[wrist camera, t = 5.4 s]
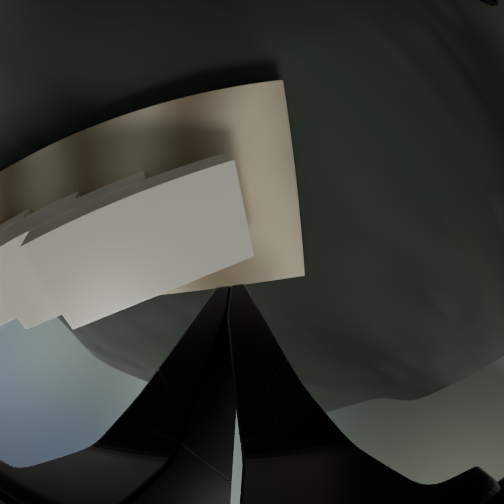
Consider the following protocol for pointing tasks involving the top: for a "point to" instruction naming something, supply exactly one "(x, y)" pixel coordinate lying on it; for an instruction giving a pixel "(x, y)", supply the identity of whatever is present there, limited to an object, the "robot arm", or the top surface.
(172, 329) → the top surface
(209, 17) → the top surface
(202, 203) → the domino
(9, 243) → the domino
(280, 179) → the beige flat rectangular board
